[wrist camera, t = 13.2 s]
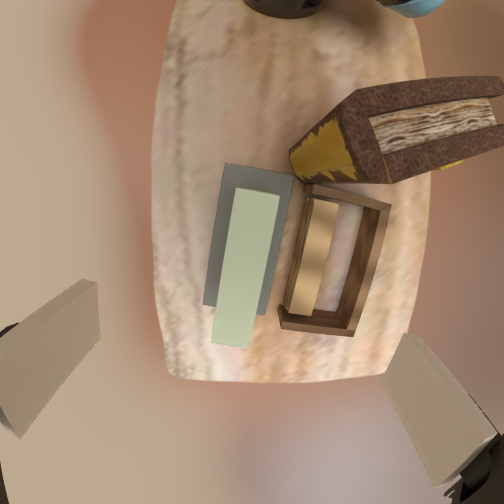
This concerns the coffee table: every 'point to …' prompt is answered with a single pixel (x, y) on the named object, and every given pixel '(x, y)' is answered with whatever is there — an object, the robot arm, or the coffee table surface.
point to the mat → (230, 181)
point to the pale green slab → (244, 265)
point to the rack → (358, 272)
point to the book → (401, 131)
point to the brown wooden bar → (310, 255)
